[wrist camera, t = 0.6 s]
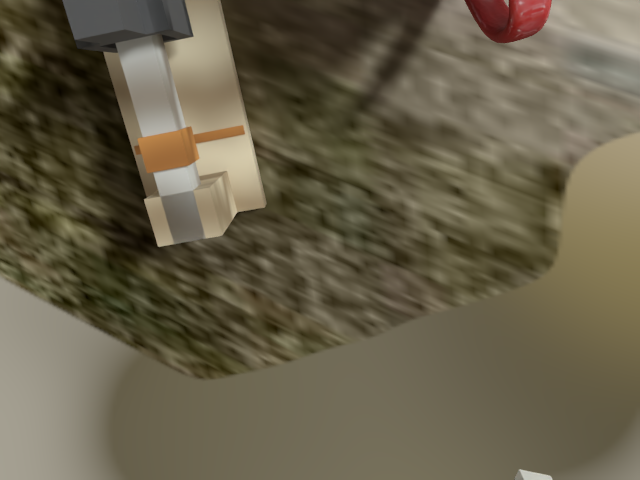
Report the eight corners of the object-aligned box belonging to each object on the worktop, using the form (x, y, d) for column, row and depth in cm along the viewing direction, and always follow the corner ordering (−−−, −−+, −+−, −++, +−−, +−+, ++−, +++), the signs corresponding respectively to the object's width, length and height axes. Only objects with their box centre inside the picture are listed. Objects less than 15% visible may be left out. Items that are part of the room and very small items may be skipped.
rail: (79, -49, 32) (16, -81, 25) (202, -77, 31) (170, -117, 25) (160, 223, 37) (125, 254, 31) (266, 203, 36) (253, 231, 30)
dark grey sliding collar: (99, -1, 30) (25, -26, 22) (180, -19, 29) (131, -50, 22) (115, 52, 31) (48, 45, 23) (193, 36, 30) (151, 23, 23)
